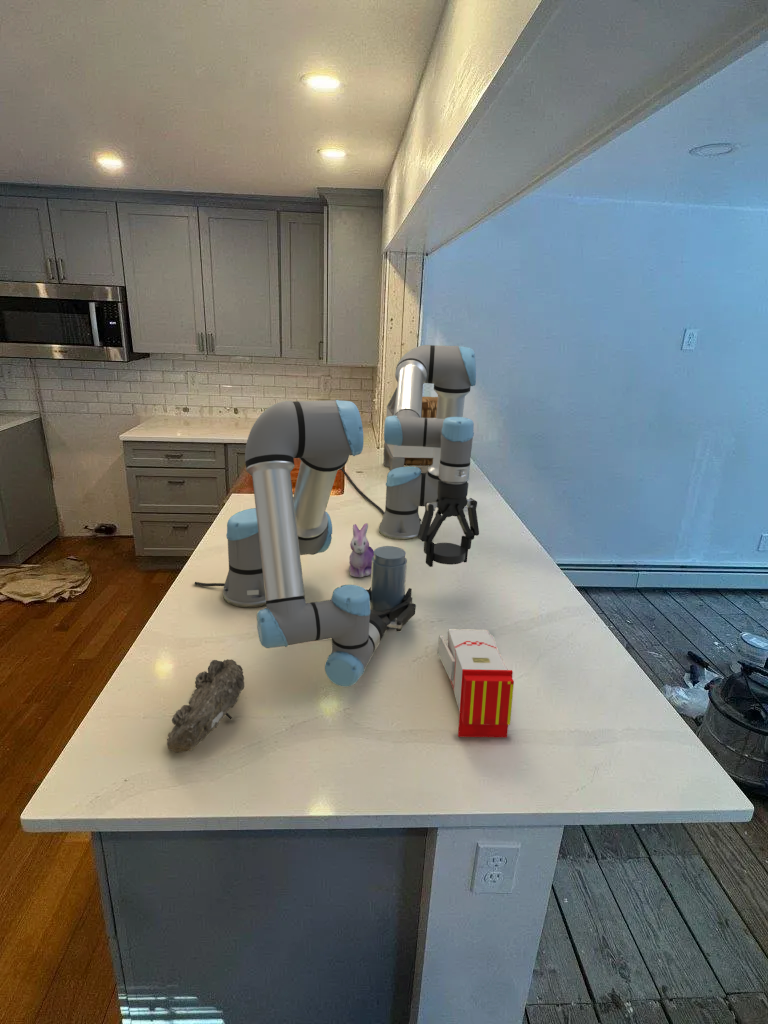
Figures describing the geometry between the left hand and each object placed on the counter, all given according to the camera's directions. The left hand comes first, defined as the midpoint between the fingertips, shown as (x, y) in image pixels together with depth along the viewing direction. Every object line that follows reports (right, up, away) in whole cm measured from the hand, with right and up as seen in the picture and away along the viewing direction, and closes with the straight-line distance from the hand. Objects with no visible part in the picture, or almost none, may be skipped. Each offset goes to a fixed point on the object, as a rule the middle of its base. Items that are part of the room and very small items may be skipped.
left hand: (392, 589), depth 147 cm
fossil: (-35, -19, -38) cm, 55 cm away
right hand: (+14, +7, +2) cm, 16 cm away
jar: (-2, -7, -2) cm, 8 cm away
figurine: (-9, +2, +24) cm, 25 cm away
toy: (+16, -18, -28) cm, 37 cm away
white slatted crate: (+15, +39, +128) cm, 135 cm away
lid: (+14, +10, +1) cm, 18 cm away
